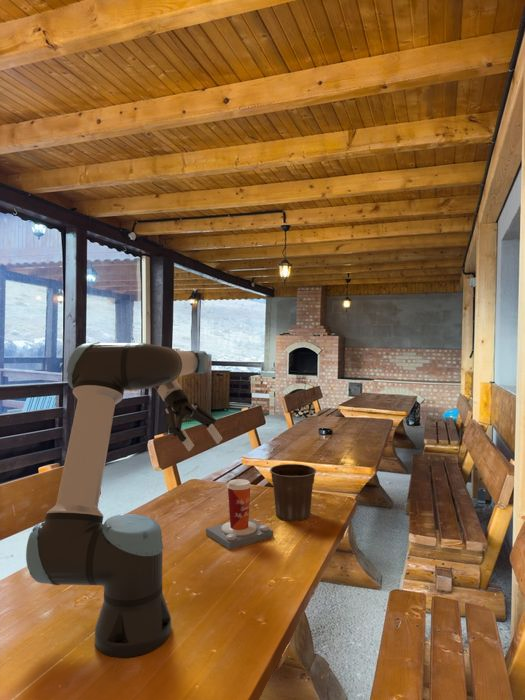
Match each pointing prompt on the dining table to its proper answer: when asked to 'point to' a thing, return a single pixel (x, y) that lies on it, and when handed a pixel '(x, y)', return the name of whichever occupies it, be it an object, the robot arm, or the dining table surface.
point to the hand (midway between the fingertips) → (206, 444)
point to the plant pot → (293, 490)
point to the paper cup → (239, 503)
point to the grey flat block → (239, 534)
